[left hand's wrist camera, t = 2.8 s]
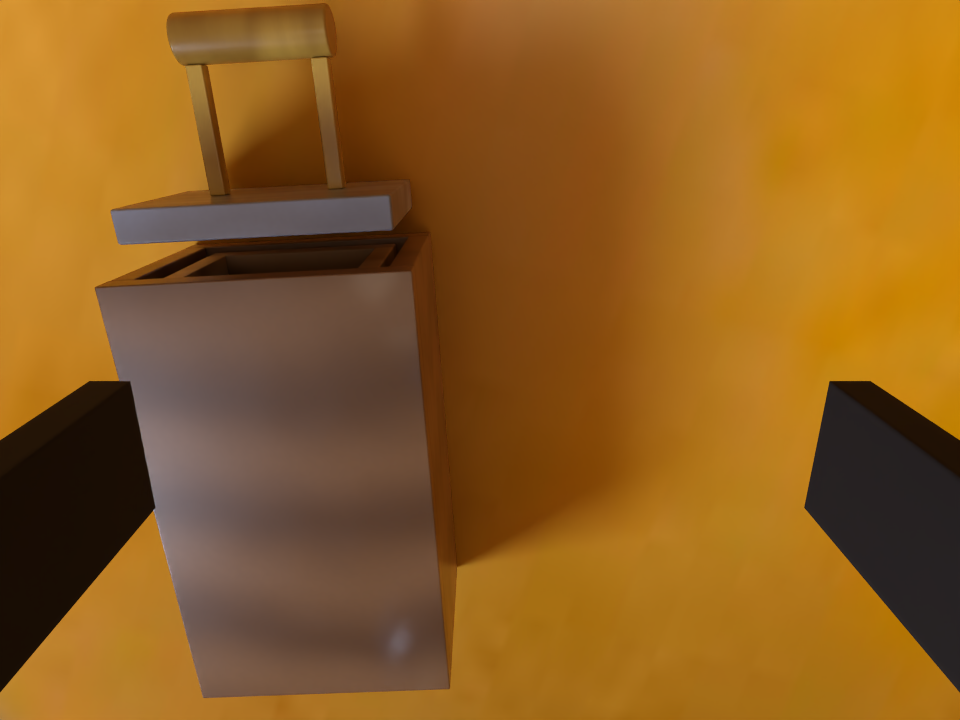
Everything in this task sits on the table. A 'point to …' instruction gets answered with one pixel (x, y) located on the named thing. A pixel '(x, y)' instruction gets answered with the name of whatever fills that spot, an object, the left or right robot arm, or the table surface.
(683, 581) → the table surface
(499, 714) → the table surface
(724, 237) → the table surface
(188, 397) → the cabinet
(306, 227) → the drawer
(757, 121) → the table surface
